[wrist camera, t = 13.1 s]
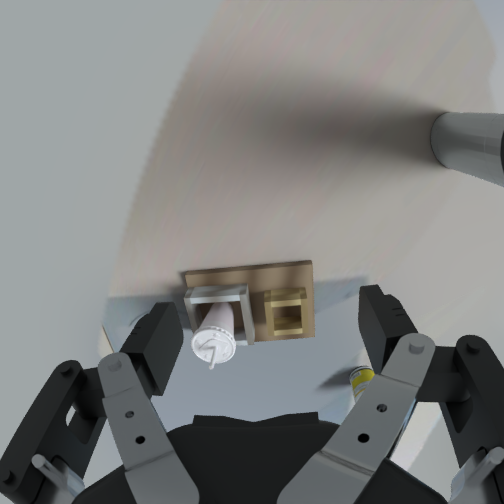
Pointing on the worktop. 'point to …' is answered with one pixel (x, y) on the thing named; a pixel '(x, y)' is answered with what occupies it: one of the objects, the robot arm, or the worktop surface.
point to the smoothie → (215, 335)
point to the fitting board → (256, 300)
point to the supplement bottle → (360, 380)
